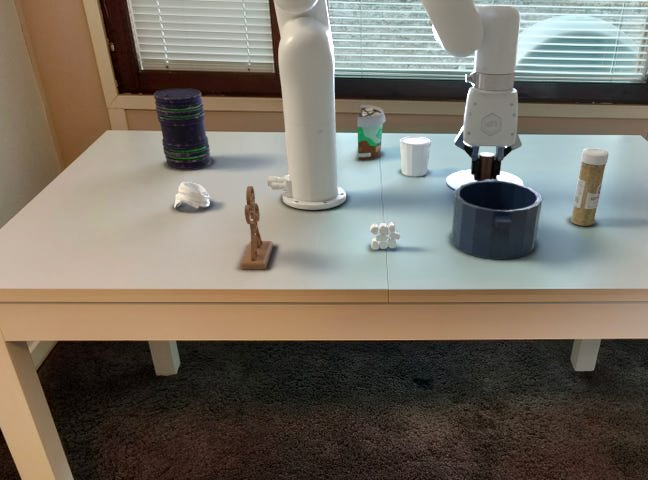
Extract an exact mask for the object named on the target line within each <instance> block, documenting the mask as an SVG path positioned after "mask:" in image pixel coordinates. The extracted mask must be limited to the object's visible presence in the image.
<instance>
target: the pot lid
mask: <svg viewBox="0 0 648 480" xmlns="http://www.w3.org/2000/svg"><path fill="white" fill-rule="evenodd" d="M478 156H479V161H480V165H479V176H478V180H474V175H471V168H470V169H463V170H458V171H454V172H453V173H451V174H449V175H448V176H447V177H446V178H445V184H446V186H447V187H448V188H449V189H450V190H451V191H453V192H455V190H456V189H457V188H458V187H459V186H461V185H464V184H467V183H470V182H477V181H485V179H492V176H493V165H494V156H495V154H494V153H493V152H491V151H482V152H480V153H478ZM497 179H498V180H499V181H505V182H512V183H518V184H521V185H524V182H523V180H522V179H521V178H519V176H517V175H514V174H512V173H509V172H506V171H502V170H500V175H497Z"/></svg>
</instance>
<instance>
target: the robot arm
mask: <svg viewBox="0 0 648 480" xmlns="http://www.w3.org/2000/svg"><path fill="white" fill-rule="evenodd" d="M272 1H273V4H274V9H275V14H276V20H277V25H278V30H279V31H278V32H279V35H280V40H279V43H278V54H277V57H278V70H279V80H280V86H281V88H280V89H281V97H282V108H283V109H282V110H283V119H284V120H283V121H284V131H285V132H284V133H285V134H284V135H285V144H286V158H287V159H286V160H287V170H288V173H287V175H283V176H281V177H279V176H267V187H271V190H274V191H280V190H282V201H283V203H284V204H286V205H287V206H289V207H291V208H295V209H299V210H307V211H318V210H320V211H321V210H327V209H331V208H336V207H337V206H340V205H342V204H343V203H344V202H345V201H346V199H347V192H346V190H344V188H342V187H341V186H339V184H338V183H339V182H338V157H337V156H338V155H337V152H338V151H337V127H336V126H337V125H336V121H337V120H336V100H335V99H336V98H335V97H336V96H335V95H336V93H335V52H334V44H333V43H334V42H333V37H332V30H331V24H330V17H329V10H328V2H327V0H272ZM419 2H420V4H421V6H422V7H423V9H424V11H425V13H426V15H427V17H428V19H429V21H430V23H431V24H432V32H433V37H434V39H435V40H436V42H437V43H438V44H439V45H440V46H441V47H442V48H443V50H444V51H445V52H446V53H448V54H449V55H450V56H452V57H454V58H460V59H461V58H468V57H470V56H472V55H473V54H474V66H473V71H472V72H471V73H467V74H465V83H470V84H471V85H472V86H470V87H469V89H468V93H467V96H466V101H465V105H464V112H463V113H464V114H463V121H462V122H463V123H462V127H461V128H460V131H459V132H458V135H456V137H455V139H454V145H455V146H456V147H457V148H458V149H461V150H463V151H464V152H465V153H466V154H467V155H468V157H470V159H471V164H470V169H471V175H474V180H478V176H479V165H480V161H479V152H480V147H495V154H494V165H493V176H492V179H497V175H500V171H501V169H502V161H503V160H504V158H505V157H507V156H508V155H509V154H510V153H511V152H512V151H515V150H517V149H519V148H521V147H522V145H523V144H522V141H521V138H520V136H519V134H518V117H519V95H518V90H517V89H516V88H514V85H515V77H516V66H517V57H518V48H519V38H520V29H521V18H522V17H521V12H520V10H519V9H518V8H517V7H515V6H513V5H512V6H511V5H506V4H505V5H504V4H503V5H502V4H492V5H485V6H481V5H480V6H479V5H476V4H475V2H474V0H419Z"/></svg>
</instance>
